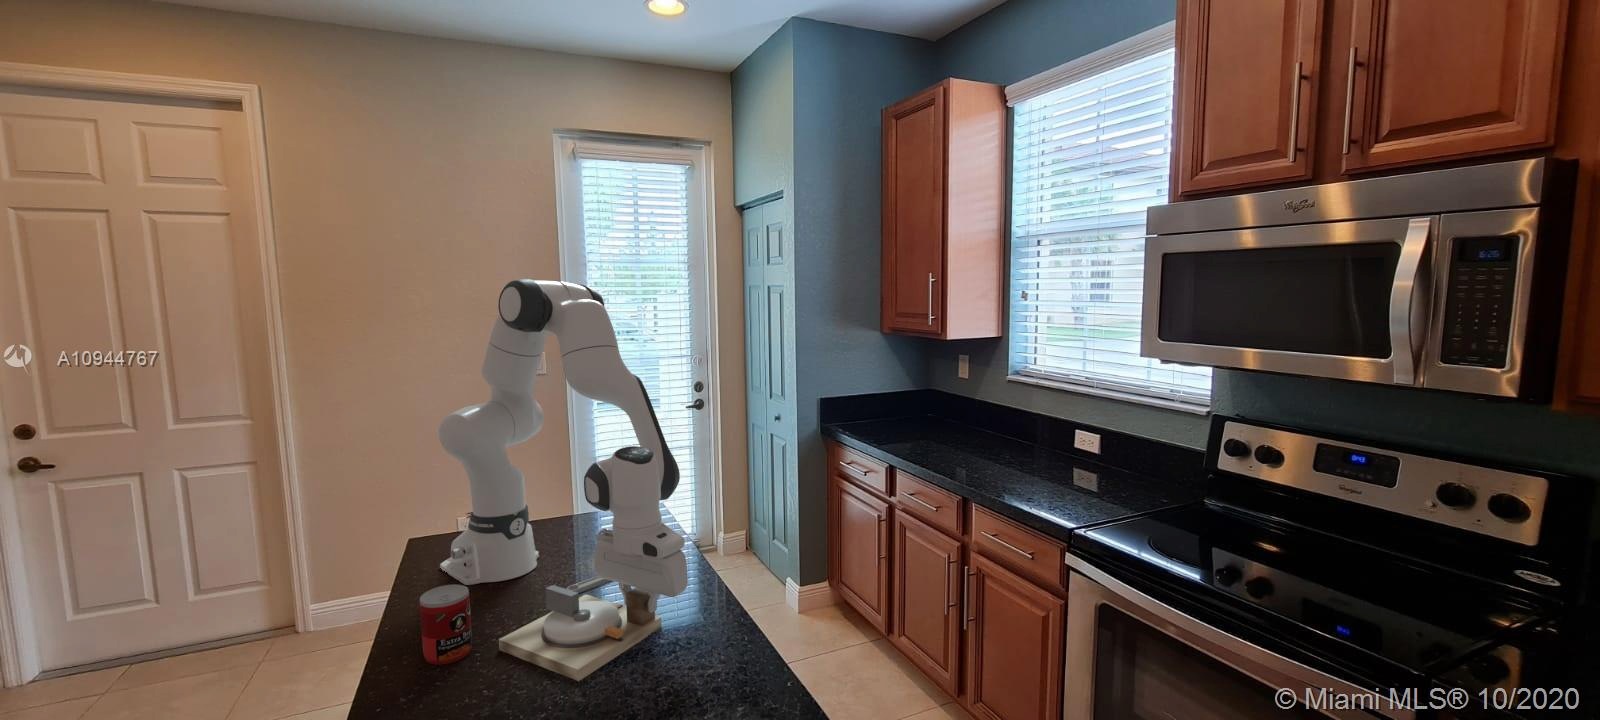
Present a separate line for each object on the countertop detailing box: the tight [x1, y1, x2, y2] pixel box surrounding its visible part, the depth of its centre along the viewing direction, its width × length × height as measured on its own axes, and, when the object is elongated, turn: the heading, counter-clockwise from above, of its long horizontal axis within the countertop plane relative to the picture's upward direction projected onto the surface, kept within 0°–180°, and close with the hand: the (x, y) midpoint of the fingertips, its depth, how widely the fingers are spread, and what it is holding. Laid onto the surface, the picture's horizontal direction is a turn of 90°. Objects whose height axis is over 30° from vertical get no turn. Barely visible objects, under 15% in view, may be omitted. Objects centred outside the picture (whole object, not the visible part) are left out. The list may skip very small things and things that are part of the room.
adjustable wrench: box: [566, 575, 612, 594], centre depth 150 cm, size 25×6×2 cm, turn 132°
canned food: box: [419, 584, 473, 665], centre depth 118 cm, size 8×8×11 cm
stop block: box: [625, 587, 656, 626], centre depth 125 cm, size 4×4×6 cm
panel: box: [498, 594, 663, 682], centre depth 123 cm, size 20×20×2 cm
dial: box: [544, 584, 623, 644], centre depth 122 cm, size 18×13×6 cm
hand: (640, 607), depth 125 cm, fingers closed on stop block, 4 cm apart
